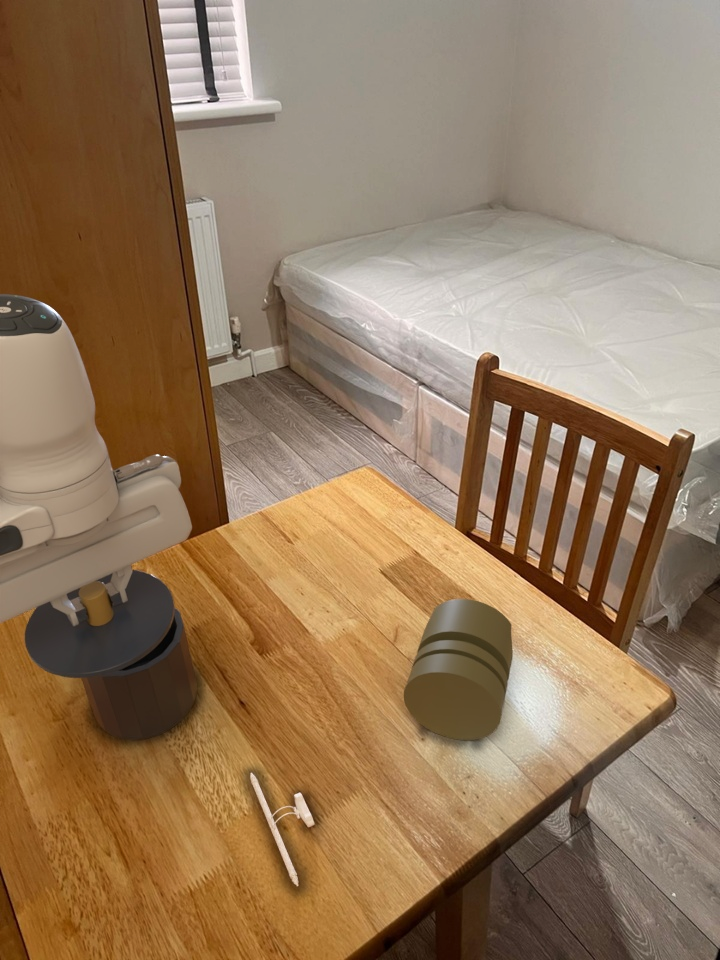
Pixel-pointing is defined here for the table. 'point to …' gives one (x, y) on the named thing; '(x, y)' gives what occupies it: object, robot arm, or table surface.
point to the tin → (147, 690)
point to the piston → (461, 670)
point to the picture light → (301, 810)
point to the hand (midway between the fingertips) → (98, 610)
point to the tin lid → (101, 628)
